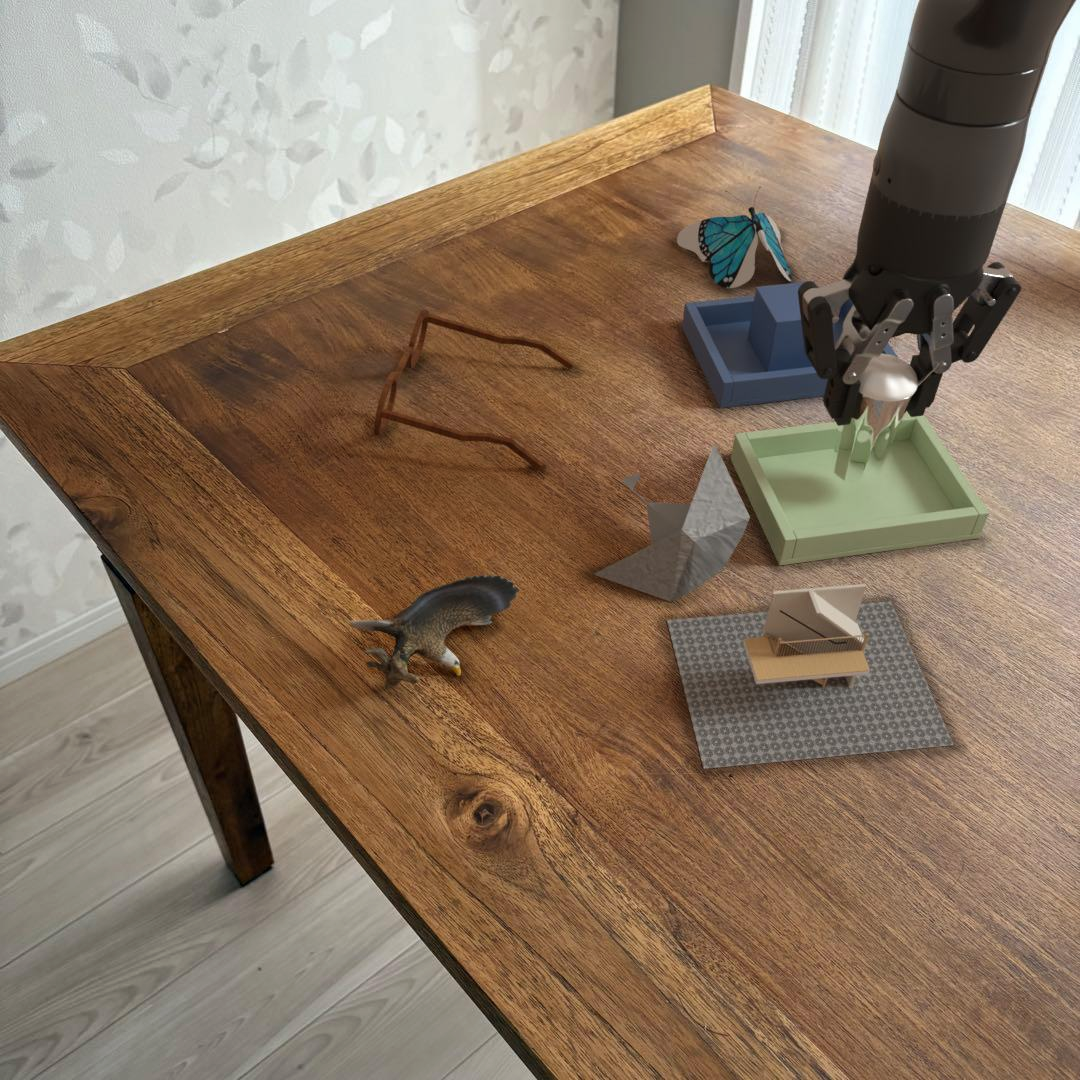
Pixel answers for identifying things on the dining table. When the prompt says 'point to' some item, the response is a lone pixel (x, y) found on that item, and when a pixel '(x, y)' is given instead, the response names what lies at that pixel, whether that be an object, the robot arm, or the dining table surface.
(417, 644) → the eagle figurine
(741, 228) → the decorative butterfly
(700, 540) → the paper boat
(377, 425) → the glasses
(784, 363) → the block
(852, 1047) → the dining table surface
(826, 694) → the architectural model
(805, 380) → the blue tray
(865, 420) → the milkshake
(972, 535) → the green tray
